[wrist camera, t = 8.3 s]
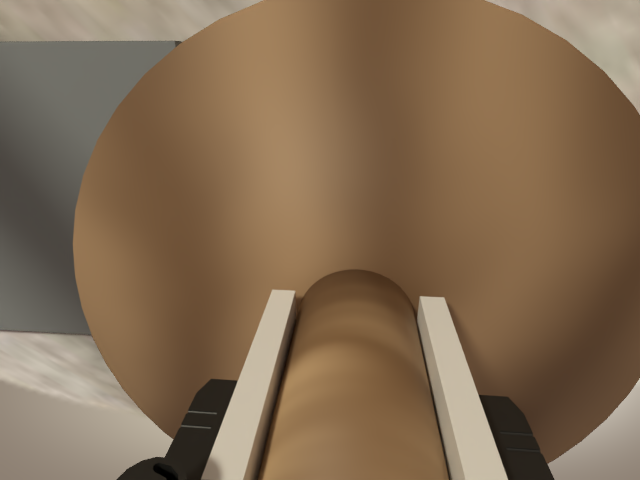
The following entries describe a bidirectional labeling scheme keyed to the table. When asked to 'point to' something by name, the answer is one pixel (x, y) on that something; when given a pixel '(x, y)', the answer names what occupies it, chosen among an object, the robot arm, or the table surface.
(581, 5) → the table surface
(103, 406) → the table surface
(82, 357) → the table surface
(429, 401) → the lid
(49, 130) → the mat
